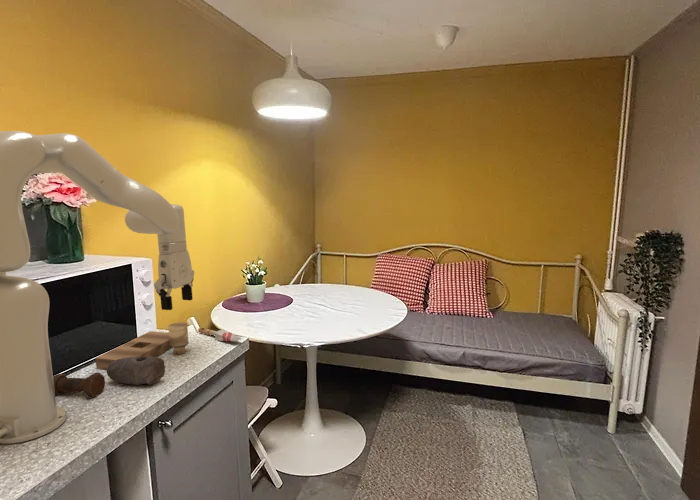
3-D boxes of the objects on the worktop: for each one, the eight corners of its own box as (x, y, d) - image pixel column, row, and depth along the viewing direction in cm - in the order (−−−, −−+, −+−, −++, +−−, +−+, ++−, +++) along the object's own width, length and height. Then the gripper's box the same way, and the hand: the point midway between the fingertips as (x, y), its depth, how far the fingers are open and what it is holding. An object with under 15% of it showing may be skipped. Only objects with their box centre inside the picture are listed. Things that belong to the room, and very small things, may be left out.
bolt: (45, 397, 105) (102, 398, 103) (28, 396, 100) (87, 397, 98) (52, 372, 107) (107, 373, 105) (36, 370, 102) (93, 371, 100)
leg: (182, 356, 124) (180, 328, 123) (166, 354, 126) (164, 327, 124) (192, 349, 129) (190, 322, 128) (177, 348, 131) (175, 321, 129)
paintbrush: (232, 337, 131) (195, 327, 143) (233, 345, 132) (195, 335, 144) (242, 333, 134) (205, 324, 146) (243, 342, 135) (205, 332, 147)
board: (130, 372, 114) (129, 361, 114) (96, 368, 117) (95, 358, 116) (180, 342, 135) (180, 333, 135) (150, 340, 138) (150, 331, 137)
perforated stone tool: (101, 385, 107) (98, 359, 106) (115, 376, 112) (113, 351, 111) (155, 389, 104) (153, 363, 103) (168, 380, 109) (166, 354, 108)
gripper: (164, 253, 114) (170, 314, 117) (201, 243, 130) (205, 297, 133) (140, 252, 115) (146, 313, 118) (179, 242, 132) (184, 296, 135)
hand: (177, 304), depth 126 cm, fingers open, 9 cm apart
